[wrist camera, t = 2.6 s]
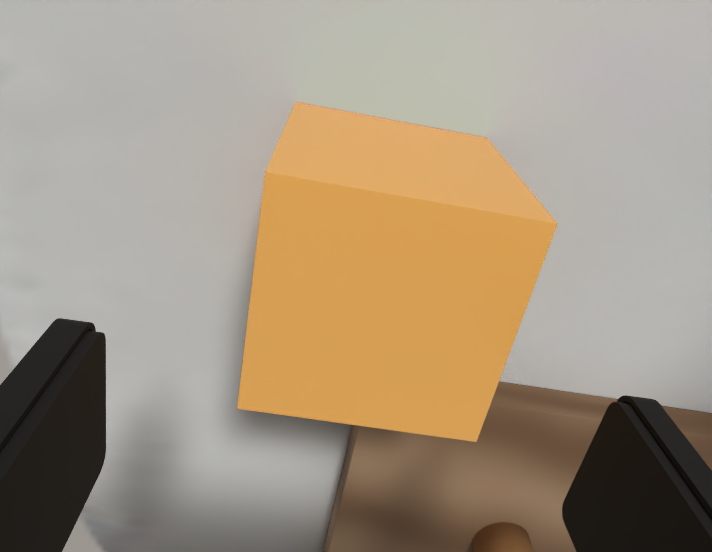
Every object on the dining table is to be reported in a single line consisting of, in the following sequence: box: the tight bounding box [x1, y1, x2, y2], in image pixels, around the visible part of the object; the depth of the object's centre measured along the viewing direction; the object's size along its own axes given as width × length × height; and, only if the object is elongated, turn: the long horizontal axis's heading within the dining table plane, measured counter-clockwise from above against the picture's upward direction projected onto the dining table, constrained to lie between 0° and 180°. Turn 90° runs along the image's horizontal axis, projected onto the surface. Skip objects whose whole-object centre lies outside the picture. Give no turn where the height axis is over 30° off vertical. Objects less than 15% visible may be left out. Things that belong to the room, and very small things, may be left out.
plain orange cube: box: [237, 102, 558, 442], centre depth 16 cm, size 6×6×7 cm
